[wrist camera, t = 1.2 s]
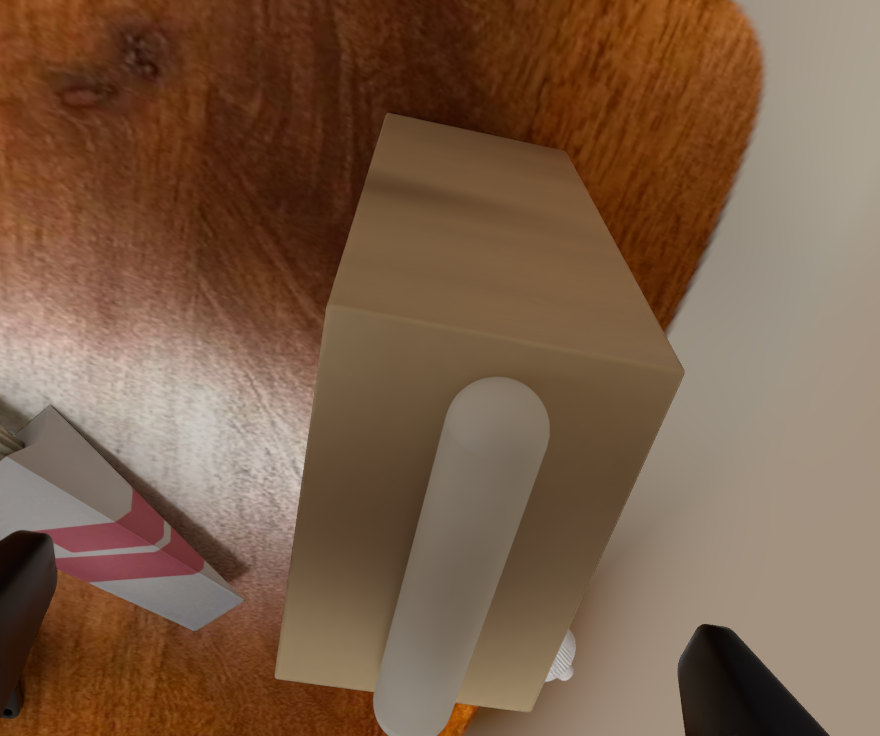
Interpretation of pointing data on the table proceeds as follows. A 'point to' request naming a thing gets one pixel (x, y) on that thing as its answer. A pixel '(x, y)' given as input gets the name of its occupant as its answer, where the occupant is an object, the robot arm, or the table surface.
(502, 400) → the rod with rounded ends
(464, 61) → the table surface
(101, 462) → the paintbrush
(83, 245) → the table surface
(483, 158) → the tan tall block
